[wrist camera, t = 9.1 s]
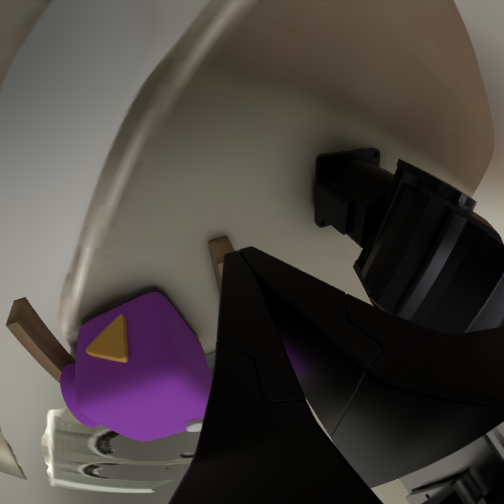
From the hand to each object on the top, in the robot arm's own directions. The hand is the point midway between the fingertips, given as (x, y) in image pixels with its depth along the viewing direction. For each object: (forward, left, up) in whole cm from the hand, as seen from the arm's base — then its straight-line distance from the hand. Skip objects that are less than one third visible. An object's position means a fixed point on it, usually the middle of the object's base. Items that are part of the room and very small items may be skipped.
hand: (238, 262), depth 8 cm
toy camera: (+9, +15, -12) cm, 22 cm away
